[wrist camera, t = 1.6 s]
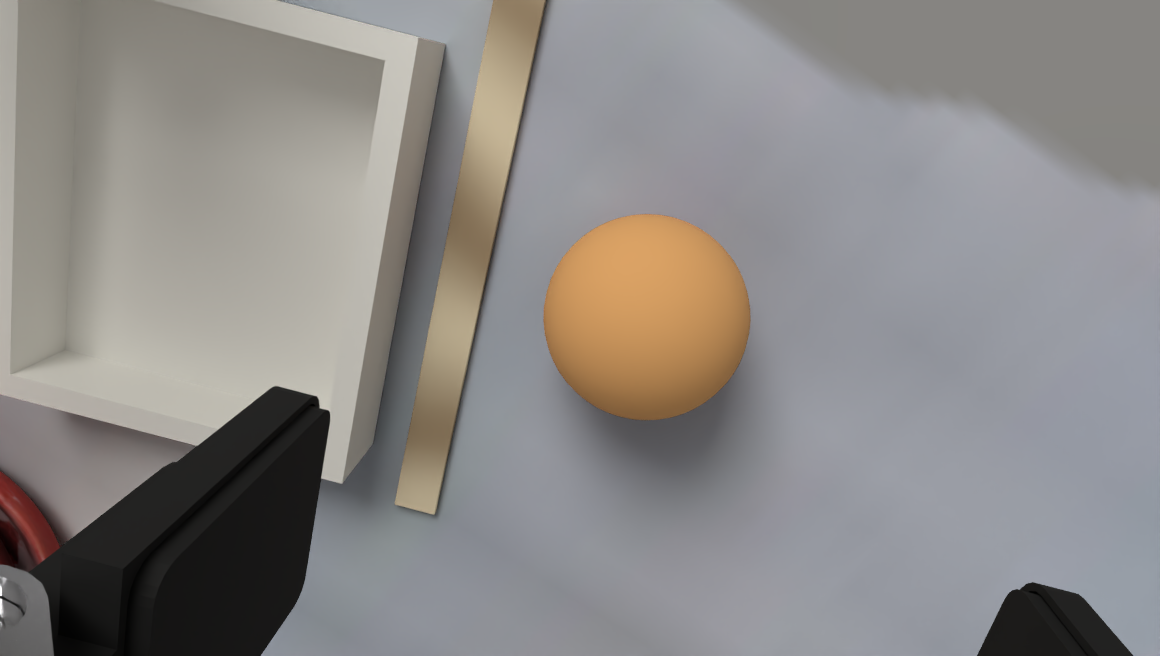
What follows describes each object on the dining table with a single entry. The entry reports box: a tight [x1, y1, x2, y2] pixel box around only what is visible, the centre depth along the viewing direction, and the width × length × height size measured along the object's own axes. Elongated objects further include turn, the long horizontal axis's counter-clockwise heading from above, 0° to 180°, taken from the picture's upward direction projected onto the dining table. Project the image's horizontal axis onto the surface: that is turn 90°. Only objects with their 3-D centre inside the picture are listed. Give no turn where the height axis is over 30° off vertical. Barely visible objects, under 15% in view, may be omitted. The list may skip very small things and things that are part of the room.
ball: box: [544, 214, 750, 420], centre depth 23 cm, size 6×6×6 cm
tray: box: [0, 0, 445, 484], centre depth 25 cm, size 14×12×3 cm
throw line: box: [395, 0, 546, 515], centre depth 26 cm, size 20×2×1 cm, turn 166°
